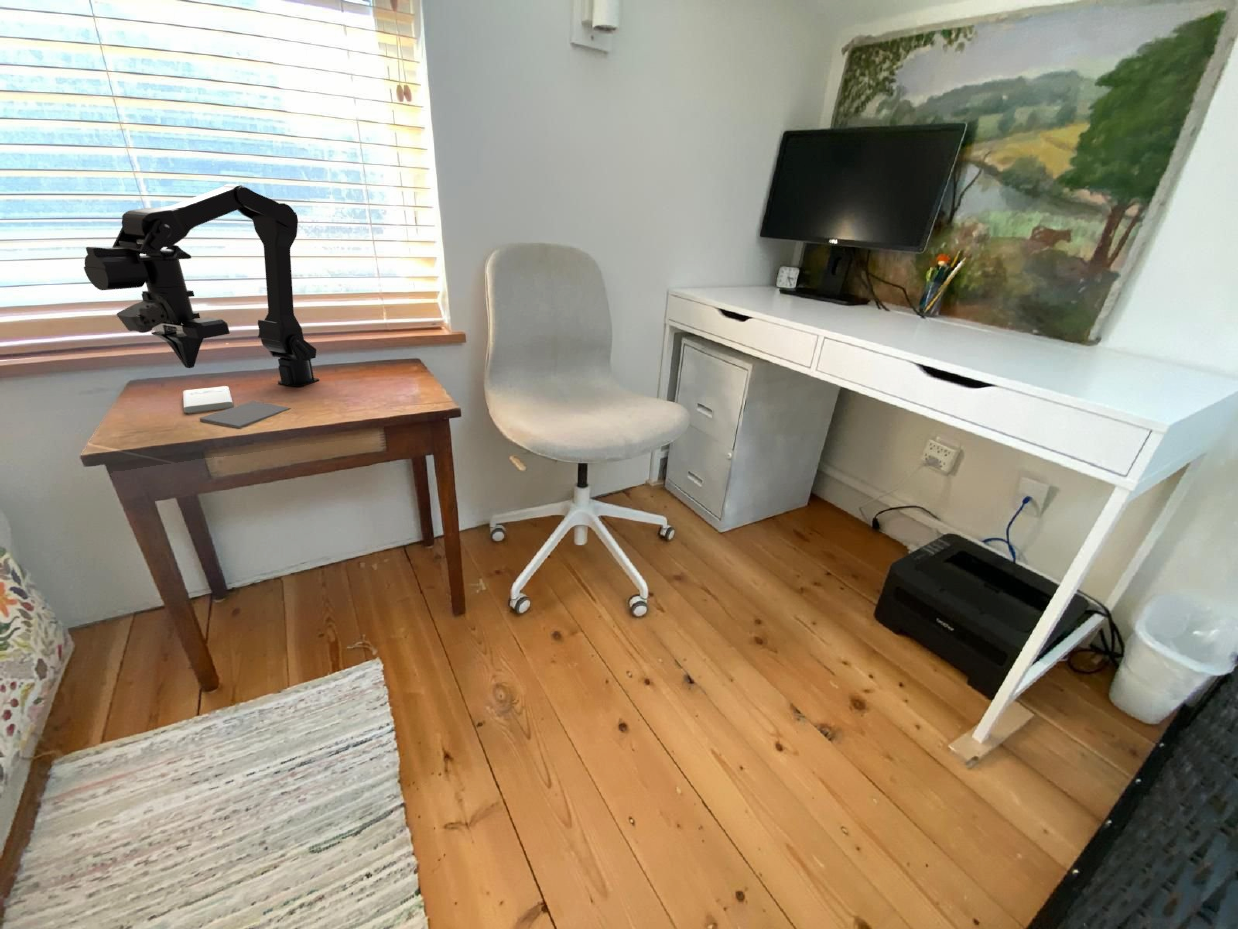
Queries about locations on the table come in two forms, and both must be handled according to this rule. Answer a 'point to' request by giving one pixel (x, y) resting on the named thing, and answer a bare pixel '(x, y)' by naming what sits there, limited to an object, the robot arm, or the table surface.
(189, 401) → the external hard drive
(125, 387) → the table surface
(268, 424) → the table surface
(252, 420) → the desk mat
